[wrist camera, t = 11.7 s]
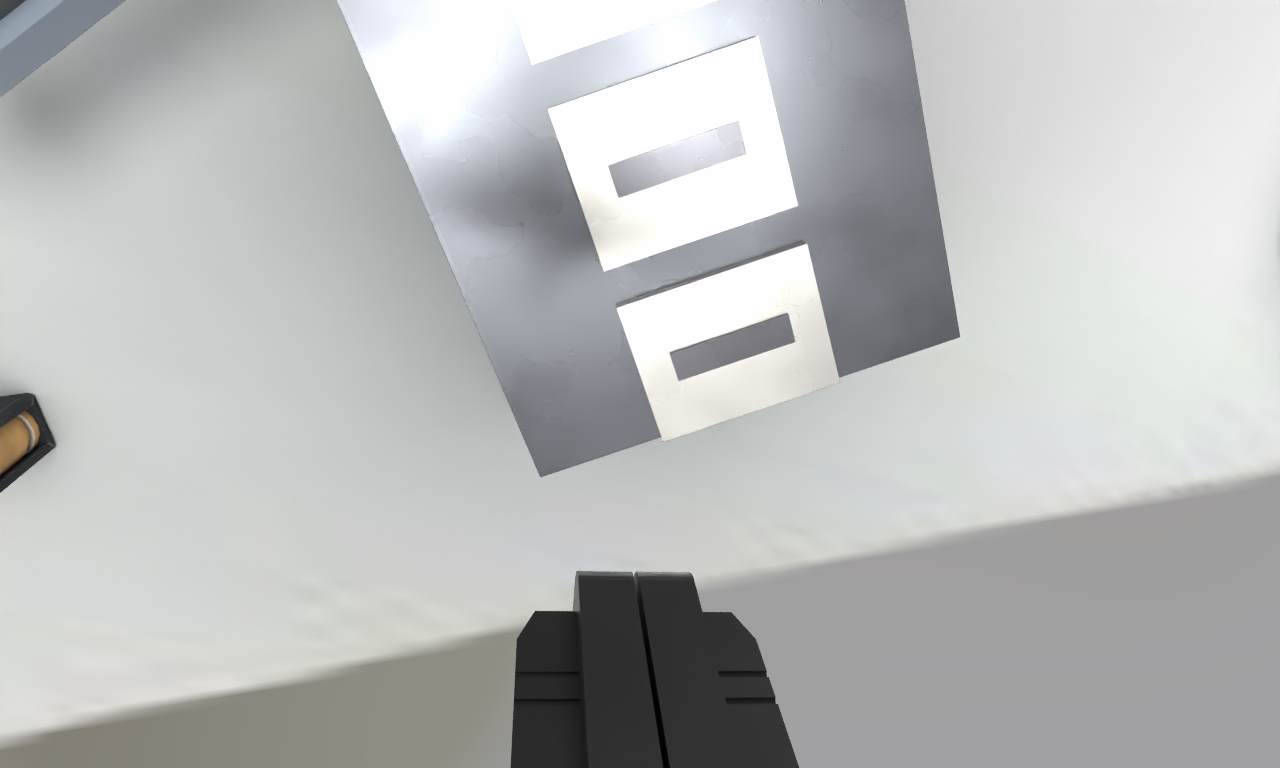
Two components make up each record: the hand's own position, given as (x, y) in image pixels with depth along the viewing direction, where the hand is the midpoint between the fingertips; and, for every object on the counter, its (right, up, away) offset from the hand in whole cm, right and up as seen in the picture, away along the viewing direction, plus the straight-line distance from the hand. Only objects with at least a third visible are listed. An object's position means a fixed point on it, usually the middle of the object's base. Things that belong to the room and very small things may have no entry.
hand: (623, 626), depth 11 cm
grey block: (0, +12, +12) cm, 17 cm away
